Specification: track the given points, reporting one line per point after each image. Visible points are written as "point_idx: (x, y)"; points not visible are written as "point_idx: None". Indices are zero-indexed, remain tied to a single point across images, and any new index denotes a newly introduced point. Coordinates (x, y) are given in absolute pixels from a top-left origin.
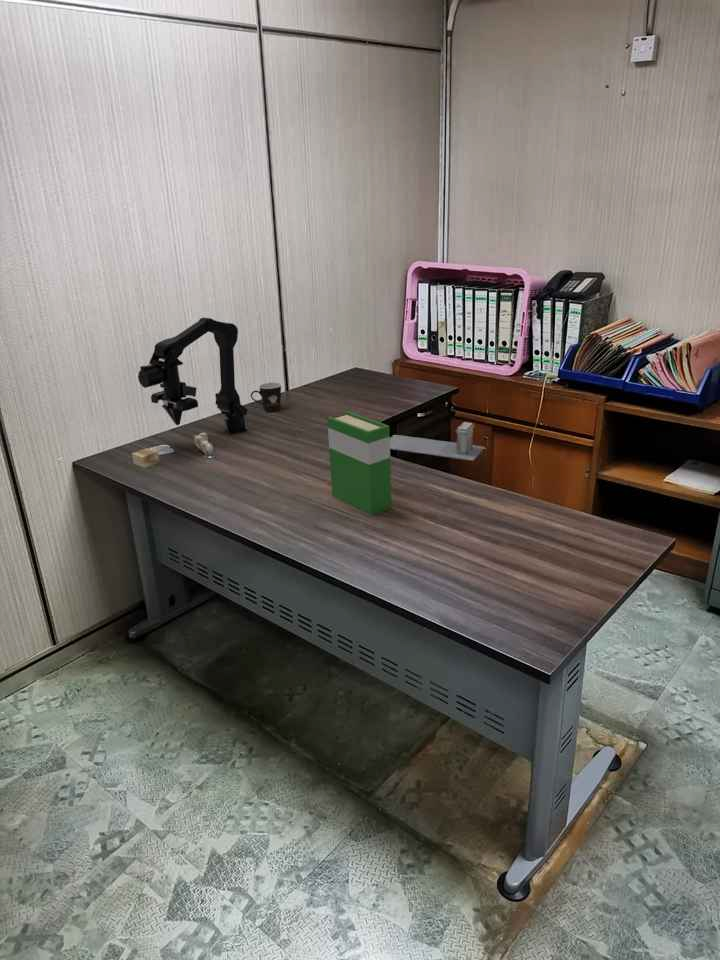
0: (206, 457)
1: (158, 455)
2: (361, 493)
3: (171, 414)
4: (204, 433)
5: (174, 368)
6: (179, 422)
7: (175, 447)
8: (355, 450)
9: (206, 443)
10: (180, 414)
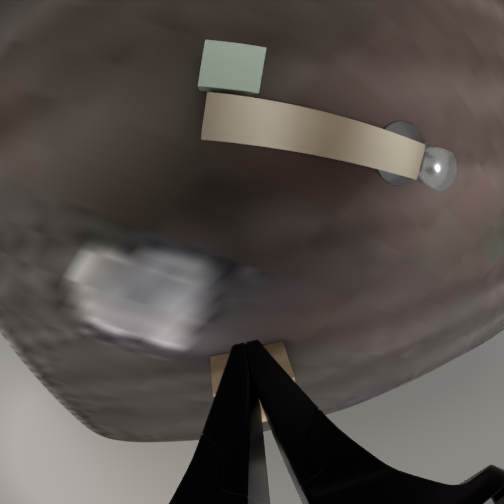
0: (407, 180)
1: (289, 363)
2: None
3: (267, 484)
4: (232, 54)
5: None
6: (270, 359)
7: (144, 233)
8: None
9: (411, 158)
10: (331, 433)
